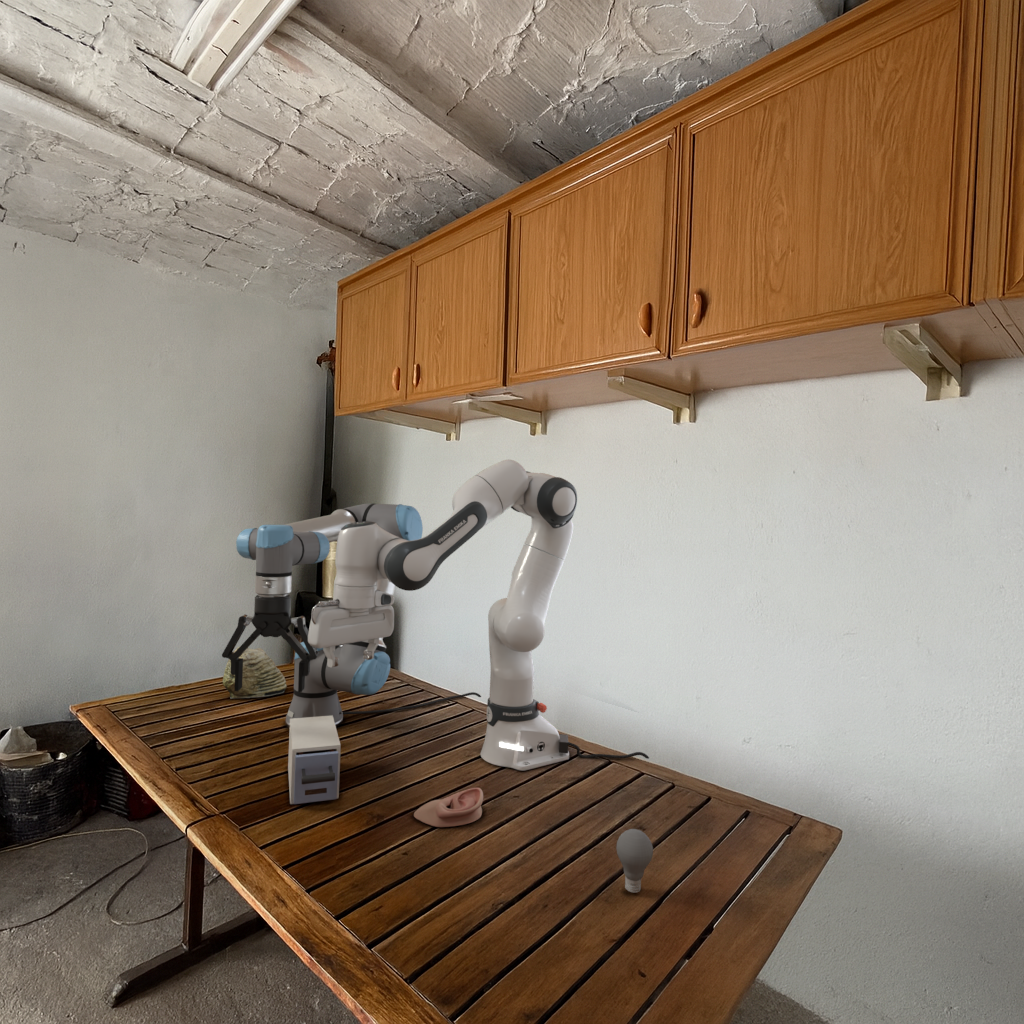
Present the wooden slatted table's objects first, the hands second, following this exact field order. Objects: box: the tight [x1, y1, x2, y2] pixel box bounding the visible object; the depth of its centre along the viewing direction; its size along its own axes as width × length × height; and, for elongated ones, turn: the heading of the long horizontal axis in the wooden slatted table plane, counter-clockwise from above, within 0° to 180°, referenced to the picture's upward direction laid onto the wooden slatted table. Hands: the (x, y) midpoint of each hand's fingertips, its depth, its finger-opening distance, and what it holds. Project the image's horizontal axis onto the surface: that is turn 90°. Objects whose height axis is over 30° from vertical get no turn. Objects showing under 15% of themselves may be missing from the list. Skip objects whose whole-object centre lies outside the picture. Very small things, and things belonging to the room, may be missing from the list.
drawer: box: [293, 749, 338, 805], centre depth 135 cm, size 23×8×10 cm, turn 21°
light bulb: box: [615, 828, 654, 894], centre depth 106 cm, size 6×6×10 cm
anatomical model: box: [413, 787, 484, 828], centre depth 129 cm, size 13×4×12 cm
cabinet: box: [287, 715, 342, 805], centre depth 140 cm, size 18×10×11 cm, turn 21°
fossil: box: [222, 646, 288, 699], centre depth 198 cm, size 9×18×15 cm, turn 132°
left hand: (269, 689), depth 141 cm, fingers open, 13 cm apart
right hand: (351, 662), depth 134 cm, fingers open, 8 cm apart
